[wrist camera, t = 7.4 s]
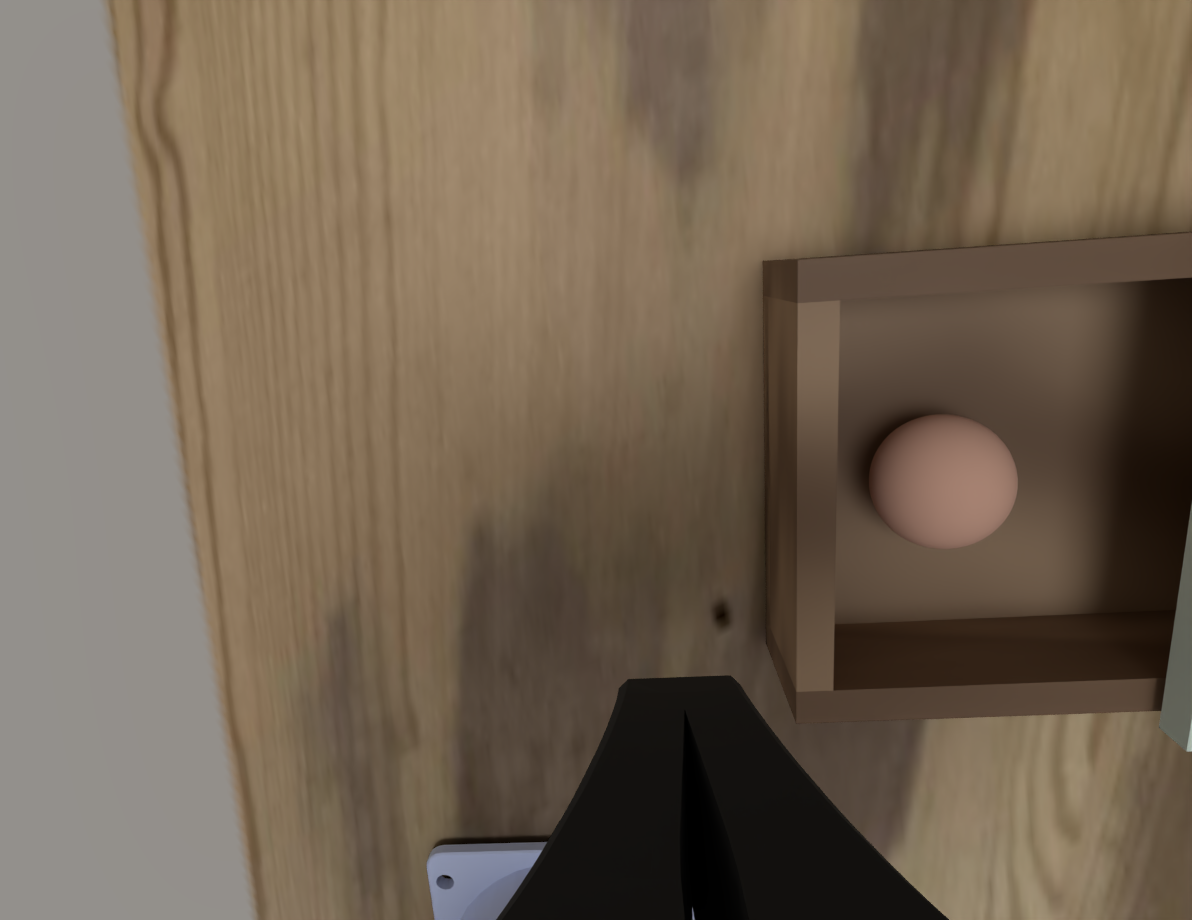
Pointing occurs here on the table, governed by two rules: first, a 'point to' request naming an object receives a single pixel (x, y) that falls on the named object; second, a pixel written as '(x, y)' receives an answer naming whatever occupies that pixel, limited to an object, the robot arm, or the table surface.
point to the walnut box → (1042, 458)
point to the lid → (1180, 661)
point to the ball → (943, 481)
